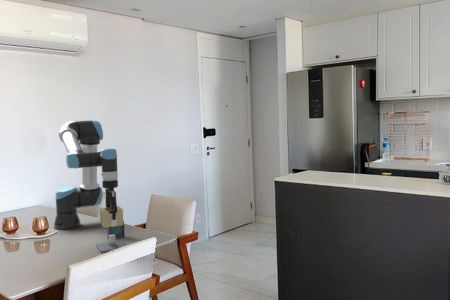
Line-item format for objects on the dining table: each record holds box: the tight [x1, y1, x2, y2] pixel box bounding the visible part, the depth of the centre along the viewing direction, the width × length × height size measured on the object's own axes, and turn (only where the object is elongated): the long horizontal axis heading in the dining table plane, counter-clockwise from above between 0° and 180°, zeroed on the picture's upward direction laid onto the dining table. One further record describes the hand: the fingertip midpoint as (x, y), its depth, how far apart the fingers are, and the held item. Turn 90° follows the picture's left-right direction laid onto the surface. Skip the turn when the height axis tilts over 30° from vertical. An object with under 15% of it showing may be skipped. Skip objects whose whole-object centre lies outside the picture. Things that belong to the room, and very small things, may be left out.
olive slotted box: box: [99, 205, 124, 229], centre depth 209 cm, size 10×10×8 cm
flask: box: [106, 220, 125, 240], centre depth 227 cm, size 9×3×11 cm, turn 109°
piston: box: [95, 235, 129, 254], centre depth 210 cm, size 14×14×6 cm
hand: (111, 223), depth 209 cm, fingers closed on olive slotted box, 9 cm apart
